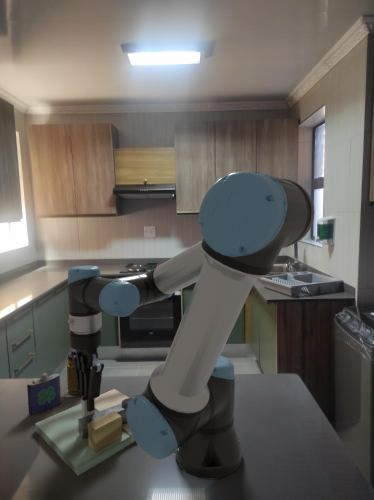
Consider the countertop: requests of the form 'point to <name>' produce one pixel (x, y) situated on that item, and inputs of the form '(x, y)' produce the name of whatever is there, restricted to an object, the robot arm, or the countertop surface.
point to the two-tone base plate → (99, 434)
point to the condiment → (71, 379)
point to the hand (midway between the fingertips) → (88, 420)
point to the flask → (44, 394)
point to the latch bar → (84, 421)
